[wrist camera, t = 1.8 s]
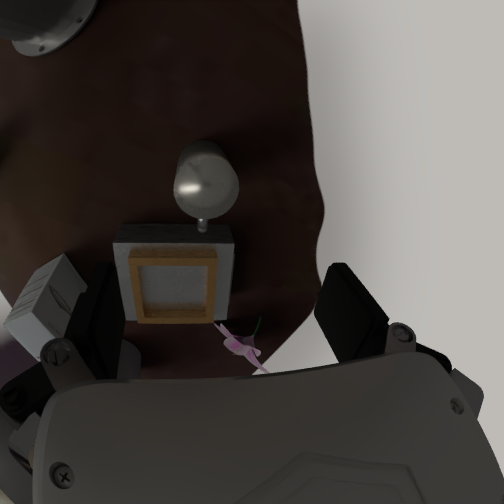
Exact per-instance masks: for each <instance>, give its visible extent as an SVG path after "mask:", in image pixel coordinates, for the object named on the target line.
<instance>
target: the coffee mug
mask: <svg viewBox="0 0 504 504" xmlns="http://www.w3.org/2000/svg"><path fill="white" fill-rule="evenodd" d="M140 369H141V354H140V352H139V350H138V349H137V348H136V347H135V346H134V345H133V344H132V343H130V342H128V341H126V340H124V339H122V344H121V351H120V358H119V365H118V373H117V379H140Z"/></svg>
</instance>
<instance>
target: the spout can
mask: <svg viewBox="0 0 504 504" xmlns="http://www.w3.org/2000/svg"><path fill="white" fill-rule="evenodd" d="M238 192H239V182H238V178H237V175H236V173H235V171H234V170H233V168H232V166H231V165H230V163H229V161H228V160H227V158H226V156H225V154H224V153H223V151H222V149H221V148H220V147H219V146H218V145H217V144H215V143H214V142H211V141H208V140H197V141H194V142H191V143H190V144H188V145H187V146H186V147H185V148H184V149H183V150H182V152H181V154H180V156H179V160H178V165H177V171H176V176H175V182H174V196H175V199H176V202H177V204H178V205H179V207H180V208H181V209H182V210H183V211H184V212H185V213H187V214H188V215H190V216H192V217H195V218H198V224H197V229H198V231H199V232H201V233H204V232H206V231H207V229H208V219H211V218H215V217H218V216H220V215H222V214H224V213H225V212H227V211H228V210H229V209H230V208H231V207H232V206H233V204H234V203H235V201H236V199H237V196H238Z"/></svg>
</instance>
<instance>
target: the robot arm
mask: <svg viewBox="0 0 504 504" xmlns="http://www.w3.org/2000/svg"><path fill="white" fill-rule="evenodd" d="M97 3H98V0H0V38H2V39H8V40H12V43H13V45H14V47H15V49H16V50H17V51H18V52H19V53H21V54H24V55H26V56H42V55H47V54H49V53H52V52H54V51H56V50H58V49H59V48H61V47H63V46H64V45H65V44H67V43H68V42H69V41H71V40H72V39H73V38H74V37H75V36H76V35H77V34H78V33H79V32H80V31H81V30H82V29H83V27H84V26H85V25H86V24H87V22H88V21H89V19H90V18H91V16H92V14H93V12H94V10H95V8H96V6H97ZM81 21H82V22H81ZM80 22H81V23H80ZM44 48H45V49H44ZM314 316H315V318H316V320H317V321H318V324H319V325H320V327H321V329H322V331H323V333H324V335H325V337H326V339H327V341H328V343H329V345H330V346H331V348H332V350H333V352H334V354H335V356H336V358H337V360H338V362H339V363H336V364H330V365H325V366H319V367H312V368H306V369H300V370H293V371H285V372H277V373H268V374H259V375H249V376H237V377H222V378H204V379H117V373H118V365H119V358H120V351H121V344H122V338H123V332H124V326H125V311H124V306H123V301H122V296H121V290H120V285H119V279H118V273H117V267H116V265H112V262H98V263H97V265H96V268H95V270H94V272H93V275H92V277H91V280H90V282H89V284H88V287H87V289H86V292H81V293H80V294H79V296H78V299H77V301H76V304H75V306H74V309H73V312H72V314H71V317H70V320H69V322H68V325H67V328H66V331H65V334H64V337H63V338H54V339H52V340H49V341H48V342H47V343H45V345H44V346H43V347H42V349H41V351H40V360H41V362H39V363H37V364H36V365H34V366H33V367H31V368H30V369H28V370H26V371H25V372H23V373H22V374H20V375H18V376H17V377H15V378H14V379H12V380H11V381H9V382H8V383H6V384H5V385H4V386H3V387H2V389H1V390H0V489H1V490H2V491H3V492H4V493H5V494H6V495H7V496H8V497H9V498H10V500H12V501H13V503H15V504H504V477H503V475H502V472H501V470H500V468H499V464H498V462H497V460H496V457H495V455H494V452H493V450H492V448H491V446H490V444H489V442H488V440H487V438H486V436H485V434H484V432H483V430H482V428H481V426H480V424H479V422H478V420H477V418H478V415H479V412H480V408H481V405H482V402H483V398H484V394H483V391H482V389H481V388H480V387H479V386H478V385H477V384H476V383H474V382H473V381H472V380H470V379H469V378H468V377H466V376H465V375H464V374H462V373H461V372H460V371H458V370H457V369H455V368H454V369H453V370H452V365H451V362H450V360H449V359H448V358H447V357H446V356H445V355H443V354H442V353H439V352H437V351H435V350H432V349H430V348H428V347H426V346H423V345H421V344H419V343H417V342H416V335H415V333H414V331H413V330H412V329H411V328H410V327H408V326H407V325H405V324H403V323H399V322H397V323H392V324H391V325H390V326H389V325H388V321H389V318H388V316H387V315H386V314H385V312H384V311H383V310H382V308H381V307H380V306H379V304H378V303H377V302H376V300H375V299H374V298H373V297H372V296H371V294H370V293H369V291H368V290H367V289H366V288H365V286H364V285H363V284H362V283H361V281H360V280H359V279H358V278H357V276H356V275H355V274H354V273H353V271H352V270H351V269H350V268H349V267H348V265H347V264H346V263H333V264H332V265H331V266H329V267H328V270H327V273H326V276H325V279H324V282H323V285H322V288H321V291H320V294H319V297H318V300H317V303H316V305H315V308H314ZM35 439H36V443H35V451H34V460H33V469H32V468H31V466H30V464H29V461H28V455H29V452H30V450H31V449H32V447H33V446H34V445H33V444H32V443H33V441H34V440H35ZM69 467H70V468H69ZM66 472H67V473H66Z"/></svg>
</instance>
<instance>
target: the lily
mask: <svg viewBox="0 0 504 504" xmlns="http://www.w3.org/2000/svg"><path fill="white" fill-rule="evenodd" d="M260 321H261V317H260V318H259V321H258V324H257V327H256V329H255V331H254V333H253V335H252V336H237V335H232V334H230V333H229V332H228V330H227V329H226V328H225V327H224V326H223V325H222V324H220V326H221V328H220V327H219V326H217V325H216V324H215V323H214V324H215V326H216V327H217V328H218V329H219V330H220V331H221V332H222V333H223V334H224V335H225V336H226V337H227V339H226V340H224V345H225V346H226V347H227V348H228V349H229V350H231V351H232V352H234V354H233V355H235V354H238V355H244V356H245V357H246V358H247V359H248V360H249V361H250V362H251V363H252V364H254V365H255V366H257V367H258V368H259V369H260V370H262V371H263V372H265V373H266V374H268V373H269V372H268V371H267V370H266V369H264V368H263V367H262V366H261V364H260V363H259V362H258V361H257V359H256V358H255V354H256V356H259V355H260V354H261V351H259V350H257V349H255V347H254V342H253V337H254V335H255V333H256V331H257V329H258V327H259V324H260Z"/></svg>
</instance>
